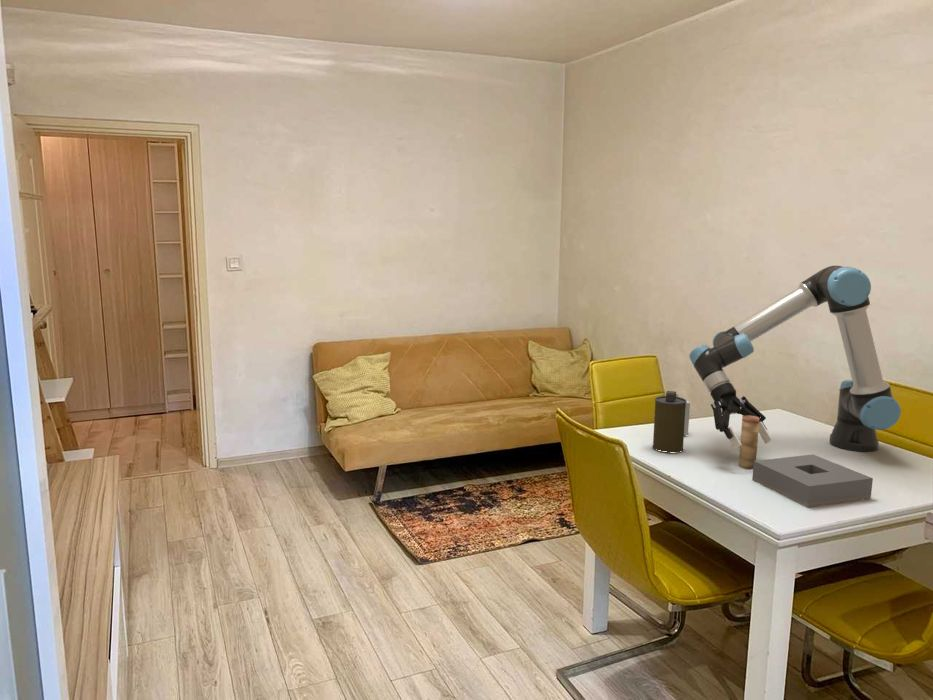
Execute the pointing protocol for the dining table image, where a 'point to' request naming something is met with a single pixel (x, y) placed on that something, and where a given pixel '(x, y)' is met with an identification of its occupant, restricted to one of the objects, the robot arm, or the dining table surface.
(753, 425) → the oak peg
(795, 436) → the dining table surface
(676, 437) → the canister
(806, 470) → the socket block
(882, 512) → the dining table surface
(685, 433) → the supplement box
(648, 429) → the dining table surface
